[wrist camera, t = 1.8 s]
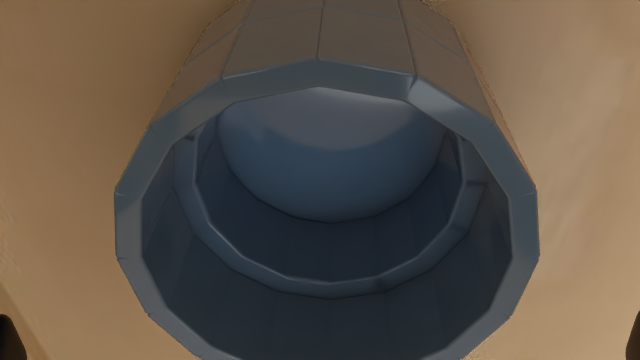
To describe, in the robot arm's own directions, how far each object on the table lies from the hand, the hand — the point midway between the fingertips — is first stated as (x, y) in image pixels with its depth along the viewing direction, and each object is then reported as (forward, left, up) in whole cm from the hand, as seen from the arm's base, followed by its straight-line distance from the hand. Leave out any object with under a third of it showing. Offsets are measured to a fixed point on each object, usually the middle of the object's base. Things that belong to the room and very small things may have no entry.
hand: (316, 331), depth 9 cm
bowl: (0, 0, -6) cm, 7 cm away
